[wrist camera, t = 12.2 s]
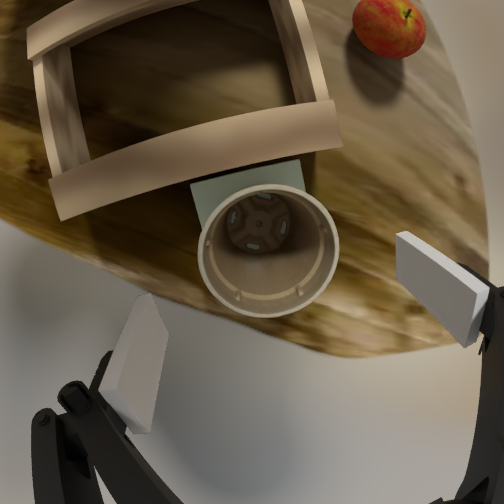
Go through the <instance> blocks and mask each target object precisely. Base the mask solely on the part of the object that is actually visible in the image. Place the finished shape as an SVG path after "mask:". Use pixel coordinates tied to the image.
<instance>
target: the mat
mask: <svg viewBox="0 0 504 504" xmlns="http://www.w3.org/2000/svg"><path fill="white" fill-rule="evenodd" d="M265 184H279V185H286V186H290V187H294V188H296V189H299V190H301V191H303V192H306V191H305V185H304V180H303V175H302V170H301V164H300V159H294V160H289V161H284V162H279V163H274V164H270V165H265V166H260V167H256V168H251V169H247V170H243V171H239V172H234V173H230V174H226V175H222V176H218V177H214V178H210V179H206V180H202V181H199V182H195V183H191V184H190V187H191V191H192V195H193V198H194V202H195V206H196V209H197V213H198V216H199V220H200V224H201V227H202V229H203V227H204V225H205V223H206V221H207V220H208V218H209V216H210V215H211V214H212V212H213V211H214V210H215V209H216V208H217V207H218V206H219V205H220V204H221V203H222V202H223V201H224V200H225V199H227V198H228V197H229V196H231V195H233V194H234V193H236V192H238V191H240V190H243V189H245V188H249V187H253V186H257V185H265ZM257 197H258V198H264V199H269V200H270V199H271V196H270V195H268V194H264V193H260V194H258V195H257ZM235 214H236V212H234V213H233V214H232V218H231V223H234V219H235V218H236V217H235ZM257 225H258V226H260V225H261V222H260V221H258V222H257ZM285 229H286V221H284V222H283V225H282V229H281V231H280V232H281V234H284V233H285ZM247 247H248V248H252V249H255V250H257V249H259V245H255V244H250V243H248V244H247Z"/></svg>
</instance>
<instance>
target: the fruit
mask: <svg viewBox="0 0 504 504" xmlns="http://www.w3.org/2000/svg"><path fill="white" fill-rule="evenodd" d="M352 21H353V27H354V30H355V33H356V35H357V36H358V38H359V40H360V41H361V42H362V43H363V45H364V46H365V47H367V48H368V49H369V50H370V51H372V52H374V53H376V54H377V55H380V56H383V57H387V58H394V59H396V58H404V57H407V56H410V55H412V54H414V53H415V52H416V51H417V50H419V49H420V48H421V46H422V45H423V43H424V40H425V37H426V25H425V21H424V19H423V16H422V15H421V13H420V12H419V10H418V9H417V8H416V7H415V6H414V5H413V4H412V3H411V2H409V1H408V0H361V1H360V2H359V3H358V4H357V6H356V8H355V9H354V13H353V18H352Z"/></svg>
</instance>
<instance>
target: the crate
mask: <svg viewBox="0 0 504 504" xmlns="http://www.w3.org/2000/svg"><path fill="white" fill-rule="evenodd" d="M194 1H199V0H74V1H72V2H70V3H68V4H66V5H64V6H63V7H61V8H59V9H57V10H55V11H54V12H52V13H50V14H49V15H47V16H45V17H44V18H42V19H40V20H39V21H37V22H36V23H34V24H33V25H31V26H30V27H28V28H27V55H28V60H31V61H33V70H34V80H35V89H36V96H37V103H38V110H39V116H40V122H41V127H42V132H43V137H44V142H45V147H46V151H47V156H48V160H49V164H50V168H51V172H52V175H53V178H51V179H49V180H48V181H49V184H50V188H51V191H52V195H53V198H54V202H55V205H56V208H57V211H58V214H59V217H60V220H61V221H63V220H66V219H68V218H71V217H74V216H76V215H79V214H82V213H85V212H87V211H90V210H93V209H96V208H99V207H101V206H104V205H107V204H110V203H113V202H116V201H119V200H122V199H125V198H128V197H131V196H135V195H138V194H141V193H144V192H147V191H151V190H154V189H157V188H161V187H164V186H167V185H171V184H174V183H178V182H182V181H185V180H189V179H192V178H196V177H200V176H204V175H208V174H211V173H215V172H219V171H223V170H228V169H232V168H236V167H240V166H244V165H249V164H253V163H258V162H262V161H267V160H272V159H277V158H281V157H286V156H292V155H297V154H302V153H307V152H313V151H319V150H324V149H330V148H337V147H343V144H342V139H341V134H340V128H339V123H338V119H337V114H336V109H335V104H334V100H329V95H328V91H327V87H326V83H325V79H324V75H323V71H322V67H321V63H320V59H319V56H318V52H317V48H316V45H315V41H314V38H313V34H312V31H311V28H310V25H309V21H308V18H307V15H306V12H305V9H304V6H303V3H302V0H268V1H269V4H270V7H271V11H272V14H273V17H274V20H275V24H276V27H277V31H278V34H279V38H280V41H281V45H282V48H283V52H284V56H285V60H286V63H287V67H288V71H289V75H290V79H291V83H292V87H293V91H294V96H295V100H296V105H290V106H283V107H278V108H272V109H266V110H261V111H256V112H251V113H246V114H241V115H237V116H232V117H228V118H224V119H219V120H215V121H211V122H207V123H203V124H200V125H196V126H192V127H189V128H185V129H181V130H178V131H175V132H171V133H168V134H165V135H161V136H158V137H155V138H152V139H149V140H146V141H143V142H140V143H137V144H134V145H131V146H128V147H126V148H123V149H120V150H117V151H115V152H112V153H109V154H107V155H104V156H102V157H99V158H97V159H94V160H92V161H91V159H90V155H89V151H88V147H87V143H86V139H85V134H84V130H83V125H82V120H81V116H80V111H79V105H78V100H77V94H76V88H75V82H74V76H73V69H72V61H71V53H70V48H71V47H73V46H74V45H76V44H78V43H80V42H82V41H84V40H87V39H89V38H91V37H93V36H95V35H97V34H99V33H102V32H104V31H106V30H109V29H111V28H113V27H116V26H118V25H121V24H123V23H126V22H129V21H131V20H134V19H137V18H140V17H143V16H145V15H148V14H152V13H155V12H158V11H161V10H164V9H168V8H171V7H175V6H179V5H182V4H186V3H190V2H194Z"/></svg>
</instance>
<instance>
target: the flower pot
mask: <svg viewBox="0 0 504 504" xmlns="http://www.w3.org/2000/svg"><path fill="white" fill-rule="evenodd" d="M260 193H264V194H268V195H270V196H271V199H270V200H269V199H264V198H258V197H257V195H258V194H260ZM234 212H236V214H235V217H236V218H235V219H234V223H231V218H232V214H233V213H234ZM258 221H260V222H261V225H260V226H258V225H257V222H258ZM284 221H286V229H285V233H284V234H281V232H280V231H281V229H282V225H283V222H284ZM248 243H250V244H255V245H259V249H257V250H255V249H252V248H248V247H247V244H248ZM338 256H339V238H338V234H337V230H336V227H335V224H334V221H333V220H332V218H331V216H330V214H329V213H328V211H327V210H326V209H325V208H324V207H323V205H322V204H321V203H320V202H319V201H317V200H316V199H315V198H314V197H312V196H311V195H309V194H307V193H306V192H303V191H301V190H299V189H296V188H294V187H290V186H286V185H279V184H265V185H257V186H253V187H249V188H245V189H243V190H240V191H238V192H236V193H234V194H233V195H231V196H229V197H228V198H227V199H225V200H224V201H223V202H222V203H221V204H220V205H219V206H218V207H217V208H216V209H215V210H214V211H213V212H212V214H211V215H210V216H209V218H208V220H207V221H206V223H205V225H204V227H203V229H202V232H201V235H200V238H199V244H198V264H199V270H200V273H201V276H202V278H203V280H204V282H205V284H206V286H207V287H208V289H209V290H210V292H211V293H212V294H213V296H215V297H216V298H217V299H218V300H219V301H220V302H221V303H222V304H224V305H225V306H227V307H228V308H230V309H231V310H233V311H236V312H238V313H240V314H244V315H246V316H251V317H258V318H261V317H262V318H270V317H279V316H283V315H286V314H290V313H293V312H295V311H298V310H300V309H302V308H303V307H305V306H307V305H308V304H310V303H311V302H313V301H314V300H315V299H316V298H317V297H318V296H319V295H320V294H321V293H322V292H323V291H324V289H325V288H326V287H327V285H328V283H329V282H330V280H331V279H332V276H333V274H334V272H335V269H336V266H337V262H338Z"/></svg>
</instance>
